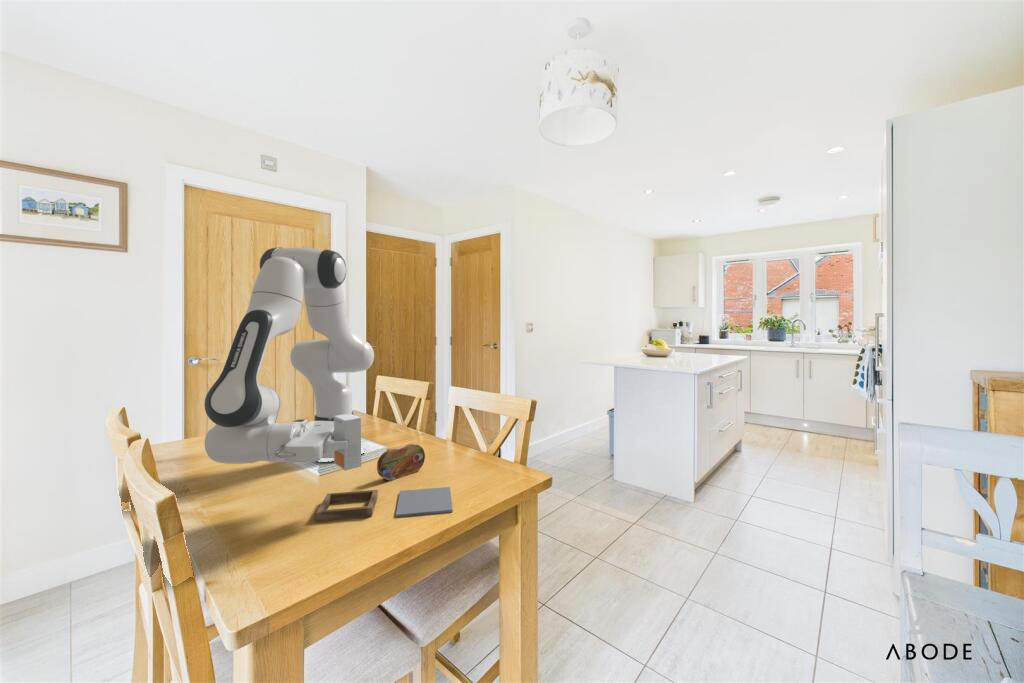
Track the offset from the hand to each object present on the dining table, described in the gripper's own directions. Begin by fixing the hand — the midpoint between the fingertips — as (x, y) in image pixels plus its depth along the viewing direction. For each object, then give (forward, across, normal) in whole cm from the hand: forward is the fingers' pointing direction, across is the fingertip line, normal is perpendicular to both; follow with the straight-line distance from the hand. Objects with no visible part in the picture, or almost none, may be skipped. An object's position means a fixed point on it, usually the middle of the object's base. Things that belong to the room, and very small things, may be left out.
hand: (351, 438), depth 94 cm
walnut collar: (-1, 0, +17) cm, 17 cm away
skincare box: (-1, 0, +7) cm, 7 cm away
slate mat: (+17, 0, +17) cm, 24 cm away
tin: (+10, +19, +18) cm, 28 cm away
